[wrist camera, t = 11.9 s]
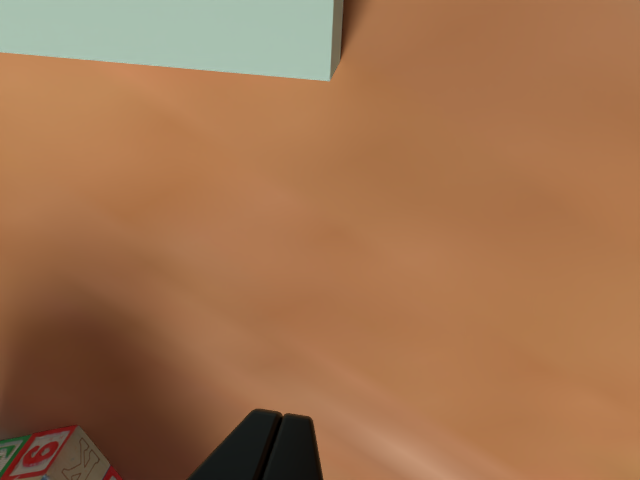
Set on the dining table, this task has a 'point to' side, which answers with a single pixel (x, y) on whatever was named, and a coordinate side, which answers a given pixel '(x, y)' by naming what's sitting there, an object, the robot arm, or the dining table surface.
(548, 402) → the dining table surface
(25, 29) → the board
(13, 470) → the beige multicoloured rectangular block
